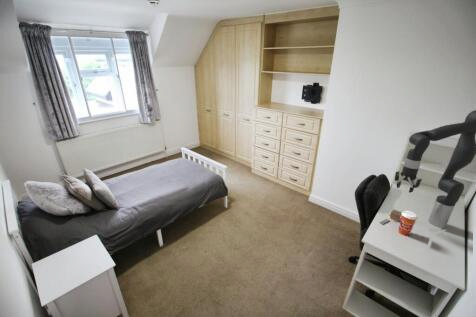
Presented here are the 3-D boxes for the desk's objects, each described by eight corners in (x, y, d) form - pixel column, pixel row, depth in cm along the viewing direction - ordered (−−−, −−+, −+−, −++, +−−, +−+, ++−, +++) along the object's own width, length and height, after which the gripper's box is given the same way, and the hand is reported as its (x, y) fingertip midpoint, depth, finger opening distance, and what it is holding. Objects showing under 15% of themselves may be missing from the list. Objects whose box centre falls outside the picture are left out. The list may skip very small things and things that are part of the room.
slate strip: (386, 219, 152) (386, 218, 151) (389, 221, 150) (389, 220, 150) (379, 222, 148) (379, 222, 148) (382, 224, 146) (382, 223, 146)
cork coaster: (392, 214, 158) (392, 213, 157) (404, 220, 151) (404, 219, 151) (385, 217, 154) (385, 216, 154) (397, 223, 147) (397, 223, 147)
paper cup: (395, 232, 139) (401, 214, 134) (397, 227, 144) (403, 208, 139) (410, 238, 134) (417, 219, 129) (412, 232, 139) (419, 213, 134)
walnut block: (391, 215, 156) (393, 209, 154) (400, 218, 152) (401, 212, 150) (389, 218, 152) (391, 212, 151) (398, 221, 149) (400, 215, 147)
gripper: (428, 169, 132) (419, 193, 138) (402, 161, 144) (395, 183, 150) (421, 171, 129) (413, 196, 135) (395, 163, 141) (389, 186, 147)
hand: (404, 189), depth 142 cm, fingers open, 6 cm apart
